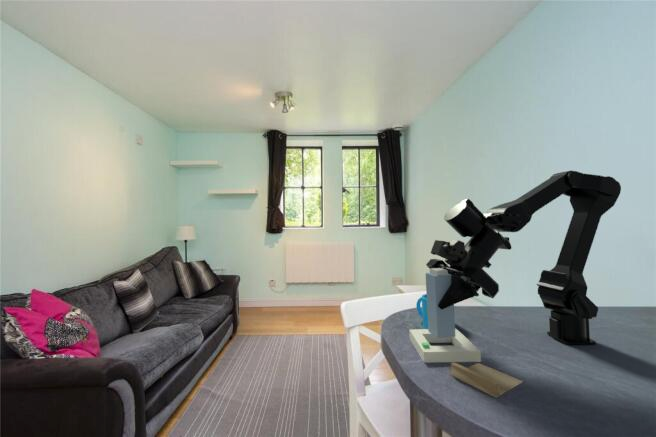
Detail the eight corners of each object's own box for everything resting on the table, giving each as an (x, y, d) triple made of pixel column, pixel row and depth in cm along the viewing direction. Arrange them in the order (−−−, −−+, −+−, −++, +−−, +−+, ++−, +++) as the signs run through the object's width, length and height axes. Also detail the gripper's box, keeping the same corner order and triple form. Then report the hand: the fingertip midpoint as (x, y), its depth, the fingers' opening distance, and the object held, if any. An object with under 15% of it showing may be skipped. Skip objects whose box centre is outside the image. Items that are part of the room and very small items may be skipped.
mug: (462, 329, 75) (460, 298, 75) (439, 335, 72) (437, 303, 72) (428, 316, 86) (427, 289, 86) (406, 321, 83) (405, 293, 83)
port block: (456, 341, 68) (456, 326, 68) (481, 366, 56) (480, 348, 56) (409, 342, 68) (409, 327, 68) (424, 367, 56) (423, 349, 56)
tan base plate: (478, 367, 55) (477, 352, 56) (523, 387, 49) (522, 369, 49) (451, 380, 51) (450, 363, 51) (496, 403, 45) (495, 384, 45)
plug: (445, 329, 64) (441, 267, 65) (455, 336, 61) (452, 270, 61) (428, 331, 64) (425, 268, 64) (437, 338, 60) (434, 271, 60)
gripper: (431, 226, 72) (392, 273, 71) (481, 227, 54) (429, 290, 52) (462, 256, 73) (423, 302, 72) (521, 266, 55) (471, 329, 53)
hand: (434, 305), depth 62 cm, fingers closed on plug, 4 cm apart
